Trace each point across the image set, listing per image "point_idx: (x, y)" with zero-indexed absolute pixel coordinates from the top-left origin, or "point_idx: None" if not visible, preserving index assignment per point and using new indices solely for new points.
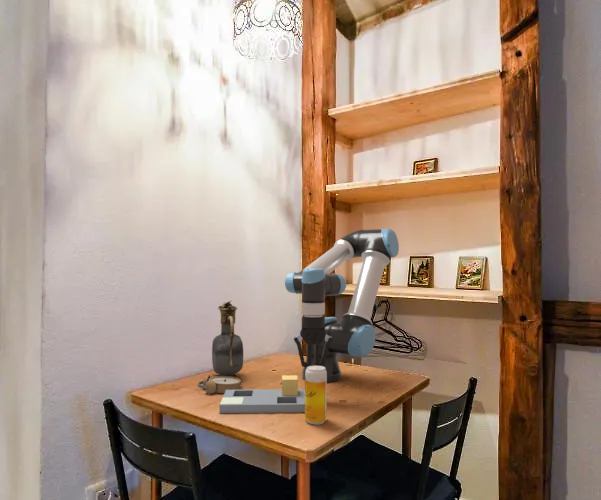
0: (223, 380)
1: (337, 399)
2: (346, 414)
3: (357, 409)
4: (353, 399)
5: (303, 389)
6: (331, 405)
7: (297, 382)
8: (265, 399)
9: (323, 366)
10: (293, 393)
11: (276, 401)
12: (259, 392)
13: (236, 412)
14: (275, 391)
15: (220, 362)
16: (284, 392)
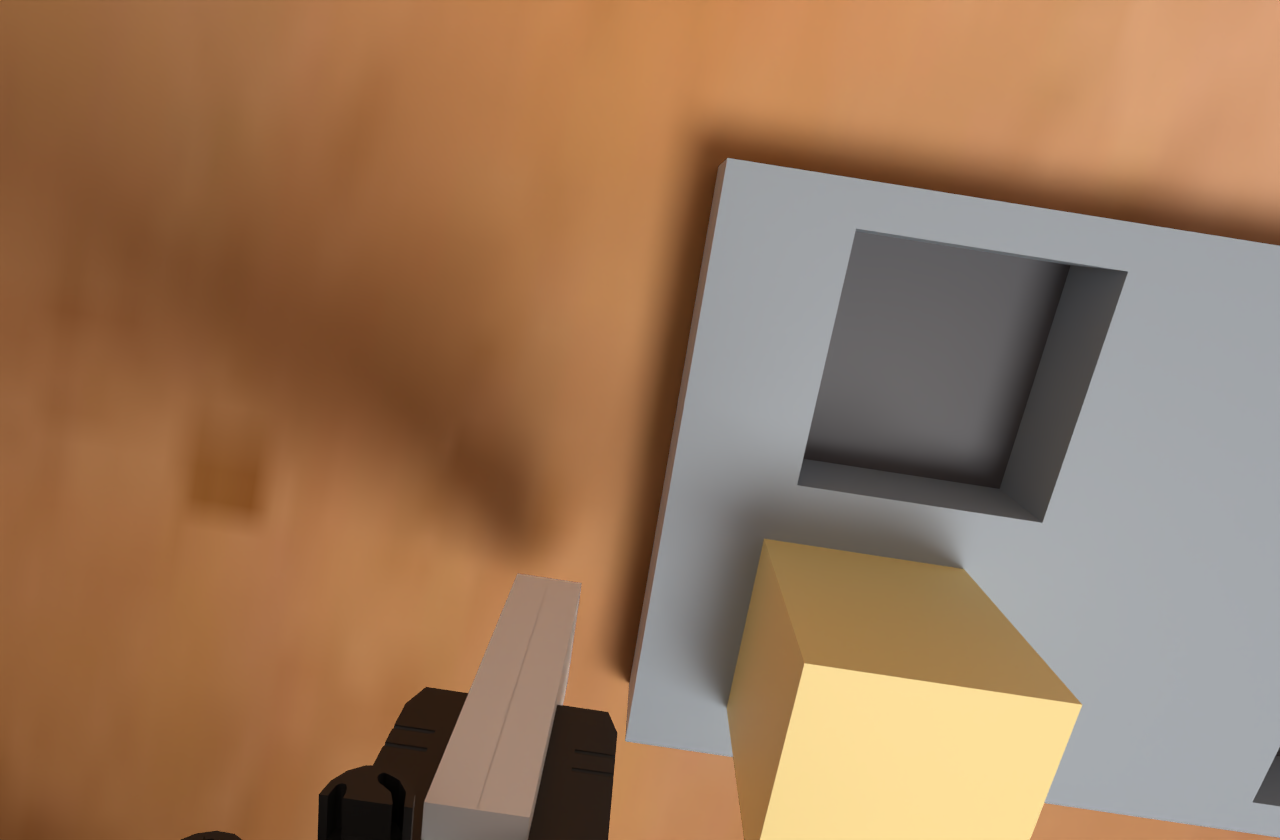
0: None
1: (280, 534)
2: (248, 5)
3: (89, 163)
4: (98, 502)
5: (638, 731)
6: (380, 356)
7: (799, 633)
8: (1225, 454)
9: (195, 834)
10: (822, 559)
11: (1108, 353)
12: (1202, 722)
13: None
14: None
15: None
16: (947, 582)
